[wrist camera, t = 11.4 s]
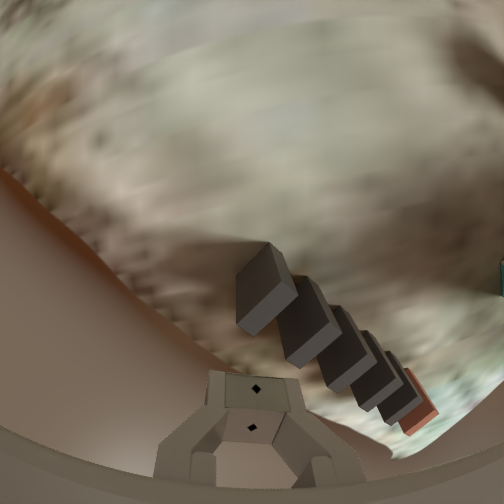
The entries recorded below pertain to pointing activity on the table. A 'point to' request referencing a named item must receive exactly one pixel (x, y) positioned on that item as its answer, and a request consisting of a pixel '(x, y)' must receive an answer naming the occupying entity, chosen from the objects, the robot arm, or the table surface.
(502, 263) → the game box
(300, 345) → the tile
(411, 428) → the end tile
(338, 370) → the tile
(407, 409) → the tile
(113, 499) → the robot arm
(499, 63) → the table surface
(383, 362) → the tile
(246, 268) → the dark grey rectangular block
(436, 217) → the table surface
